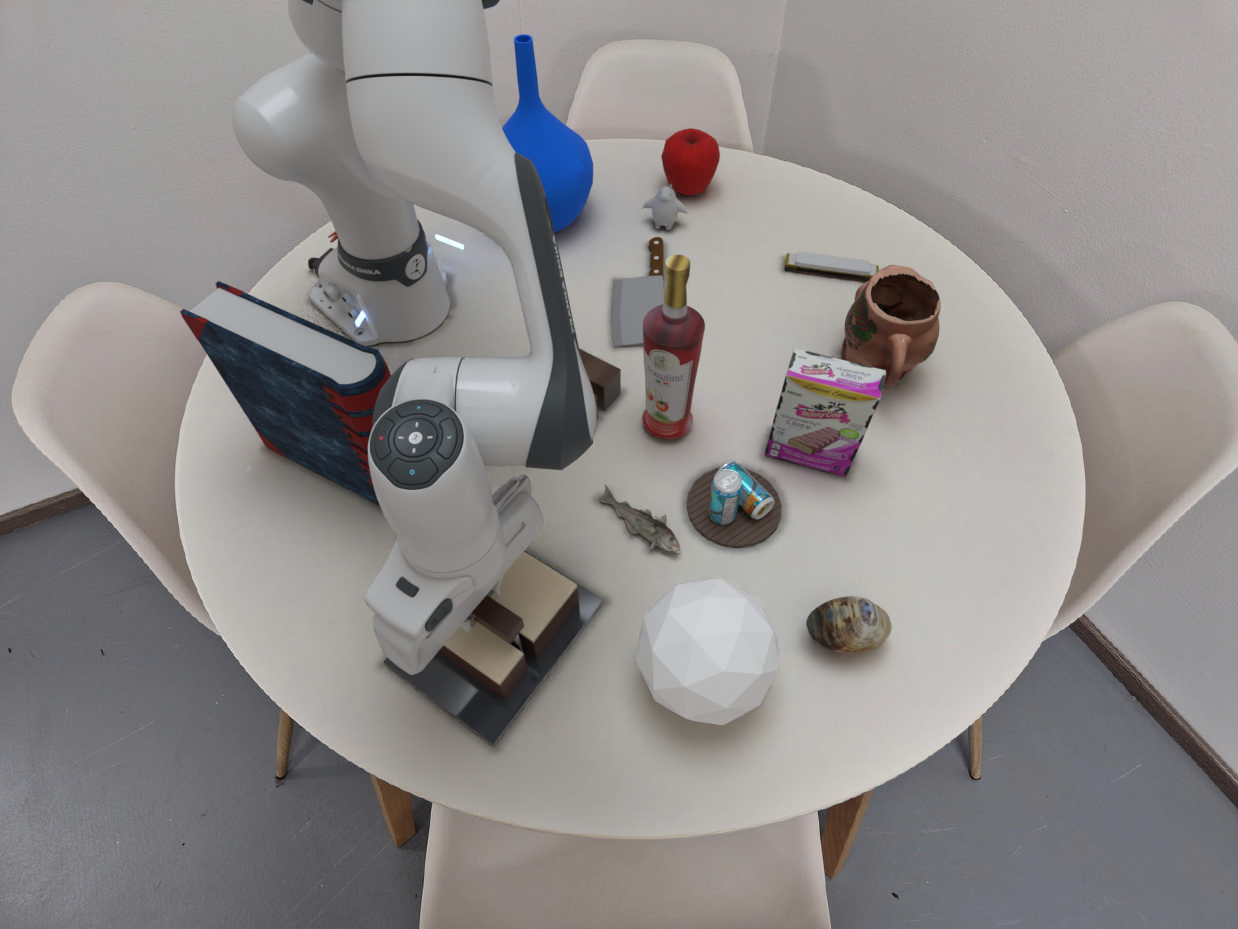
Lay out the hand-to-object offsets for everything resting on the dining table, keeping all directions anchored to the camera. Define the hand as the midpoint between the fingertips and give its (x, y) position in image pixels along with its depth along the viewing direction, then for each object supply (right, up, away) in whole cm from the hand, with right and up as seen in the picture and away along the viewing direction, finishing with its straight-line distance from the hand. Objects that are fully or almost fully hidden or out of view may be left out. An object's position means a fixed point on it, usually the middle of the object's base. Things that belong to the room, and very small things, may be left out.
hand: (478, 609), depth 80 cm
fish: (+18, +8, +16) cm, 25 cm away
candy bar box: (+40, +16, +22) cm, 48 cm away
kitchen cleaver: (+19, +42, +40) cm, 61 cm away
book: (-21, +15, +21) cm, 33 cm away
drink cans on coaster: (+29, +10, +17) cm, 35 cm away
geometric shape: (+24, -8, +4) cm, 26 cm away
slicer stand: (+8, +25, +28) cm, 38 cm away
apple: (+27, +64, +56) cm, 89 cm away
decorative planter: (+52, +29, +30) cm, 67 cm away
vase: (+1, +58, +51) cm, 77 cm away
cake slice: (-1, -6, +5) cm, 8 cm away
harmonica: (+49, +46, +43) cm, 80 cm away
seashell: (+40, -5, +7) cm, 41 cm away
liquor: (+21, +21, +25) cm, 39 cm away
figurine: (+23, +57, +51) cm, 79 cm away
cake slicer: (0, -4, +6) cm, 7 cm away
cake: (+1, -4, +7) cm, 8 cm away
